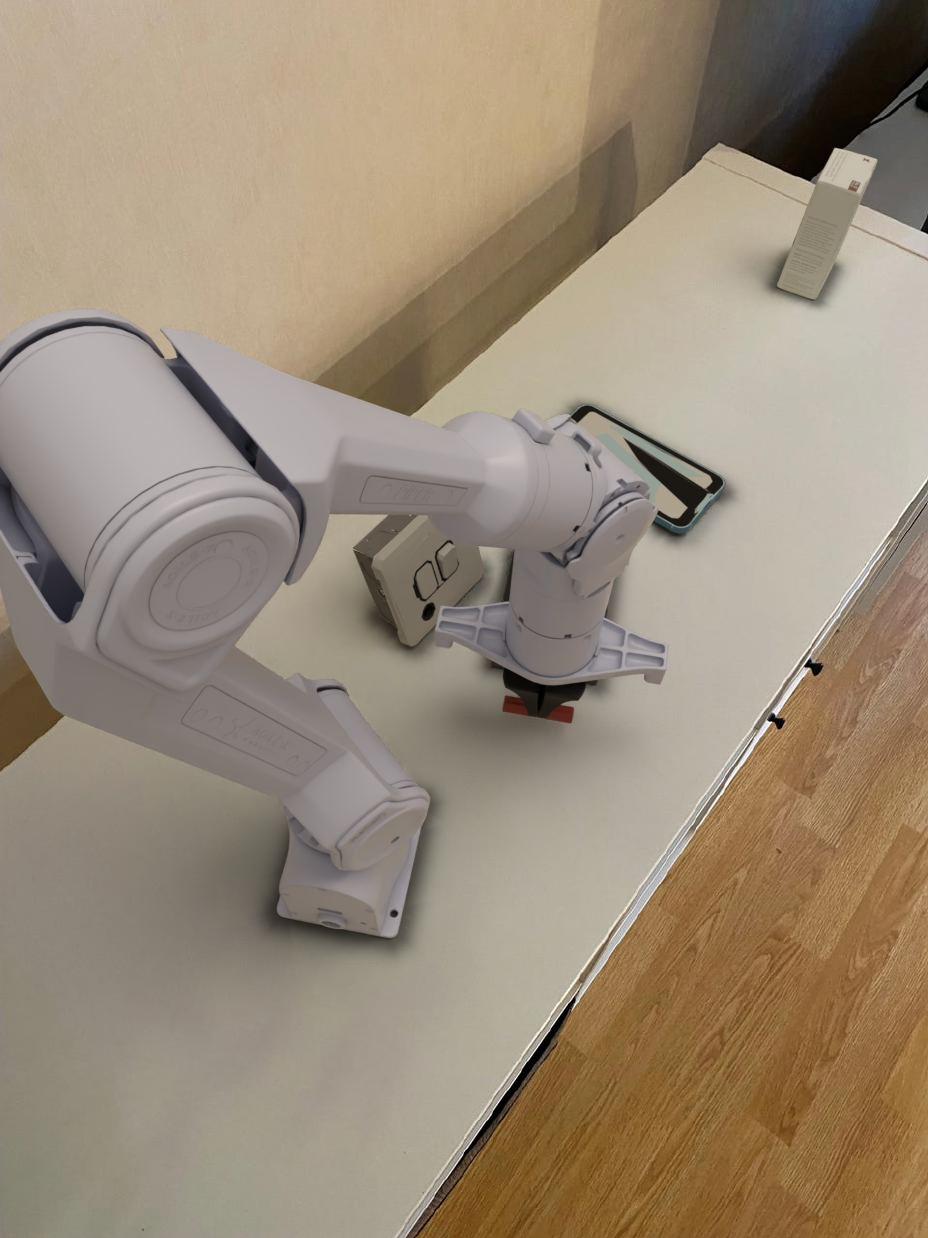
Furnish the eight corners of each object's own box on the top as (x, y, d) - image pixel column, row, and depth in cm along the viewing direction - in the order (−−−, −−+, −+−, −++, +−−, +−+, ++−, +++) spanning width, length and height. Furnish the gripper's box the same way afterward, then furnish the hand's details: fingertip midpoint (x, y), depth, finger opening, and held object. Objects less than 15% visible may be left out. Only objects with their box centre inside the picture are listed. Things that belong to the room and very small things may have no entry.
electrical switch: (410, 653, 73) (396, 577, 66) (360, 620, 75) (341, 543, 68) (486, 575, 77) (481, 495, 70) (437, 546, 79) (427, 465, 72)
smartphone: (585, 399, 87) (730, 479, 81) (584, 407, 87) (728, 487, 82) (535, 446, 83) (683, 533, 78) (535, 454, 84) (681, 540, 79)
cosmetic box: (792, 254, 99) (832, 142, 89) (835, 268, 98) (880, 156, 88) (774, 289, 96) (813, 177, 86) (817, 303, 95) (862, 192, 85)
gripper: (686, 563, 58) (647, 673, 69) (450, 525, 59) (449, 639, 71) (679, 663, 54) (638, 762, 66) (426, 620, 55) (429, 725, 67)
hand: (539, 704), depth 68 cm, fingers closed, pressing on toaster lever
